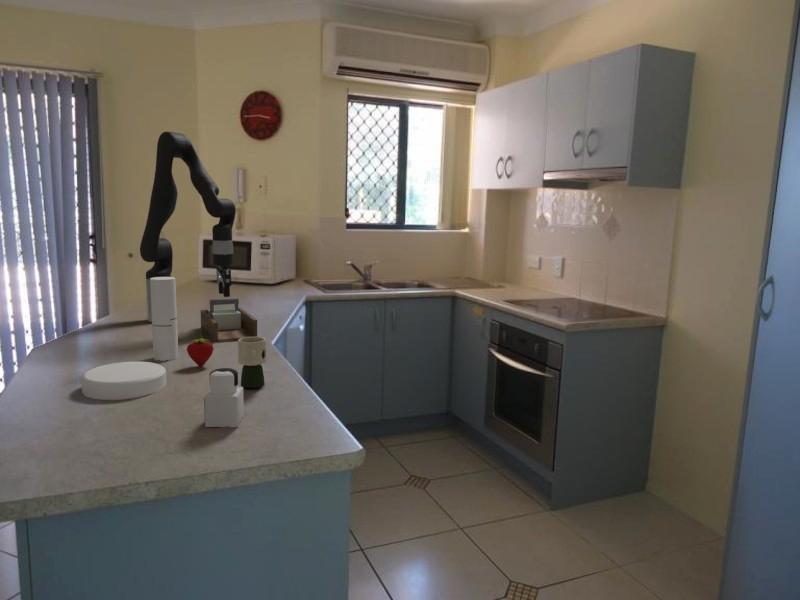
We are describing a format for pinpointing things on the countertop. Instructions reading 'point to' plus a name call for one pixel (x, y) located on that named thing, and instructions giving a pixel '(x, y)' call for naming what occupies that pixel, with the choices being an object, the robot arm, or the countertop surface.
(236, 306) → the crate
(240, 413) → the medicine bottle
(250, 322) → the bay
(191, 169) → the robot arm
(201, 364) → the strawberry
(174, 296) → the cylindrical container
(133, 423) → the countertop surface
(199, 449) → the countertop surface
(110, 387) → the container
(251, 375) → the character mug
